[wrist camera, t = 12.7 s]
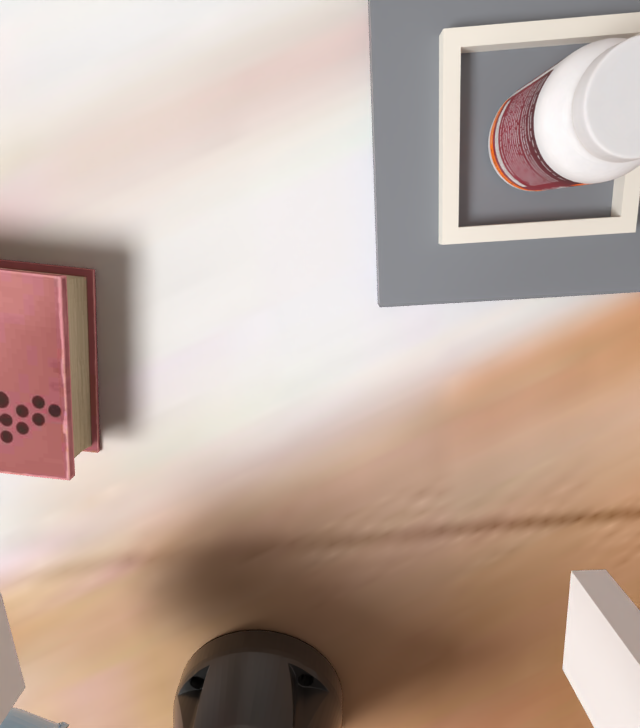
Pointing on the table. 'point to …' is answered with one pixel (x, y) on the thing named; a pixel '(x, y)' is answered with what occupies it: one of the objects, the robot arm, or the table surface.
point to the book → (47, 368)
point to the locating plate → (485, 157)
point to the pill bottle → (572, 121)
